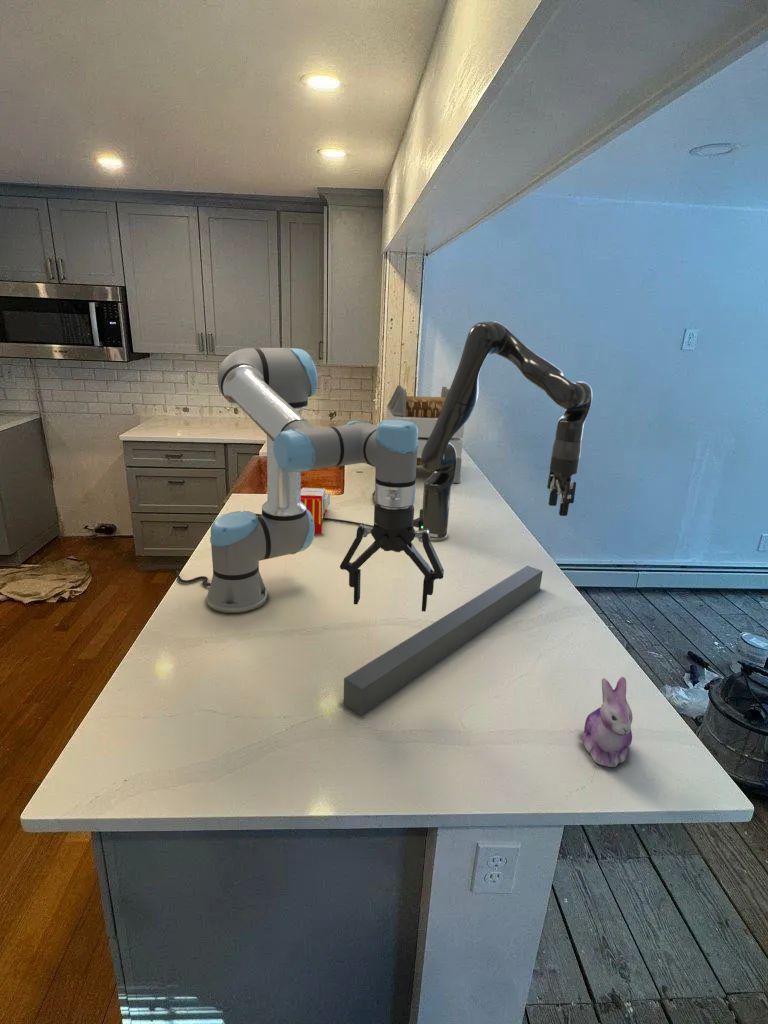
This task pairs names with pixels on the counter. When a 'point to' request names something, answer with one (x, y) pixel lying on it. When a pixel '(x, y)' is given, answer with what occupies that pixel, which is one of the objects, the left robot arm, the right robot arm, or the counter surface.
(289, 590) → the counter surface
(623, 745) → the figurine
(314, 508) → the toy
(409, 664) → the post
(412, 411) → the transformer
